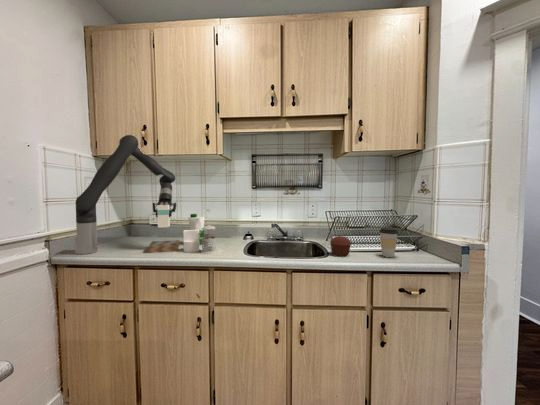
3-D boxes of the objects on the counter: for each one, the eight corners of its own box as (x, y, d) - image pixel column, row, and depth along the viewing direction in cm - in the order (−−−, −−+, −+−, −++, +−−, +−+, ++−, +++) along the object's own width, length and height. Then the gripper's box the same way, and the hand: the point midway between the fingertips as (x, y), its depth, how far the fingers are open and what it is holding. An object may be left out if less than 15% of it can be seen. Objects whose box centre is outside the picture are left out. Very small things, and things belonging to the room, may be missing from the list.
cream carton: (157, 227, 142) (157, 204, 141) (159, 226, 148) (158, 203, 147) (168, 227, 144) (168, 203, 143) (169, 225, 150) (169, 203, 149)
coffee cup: (383, 253, 138) (384, 227, 137) (400, 256, 130) (401, 229, 130) (375, 255, 132) (375, 228, 131) (392, 259, 125) (393, 230, 124)
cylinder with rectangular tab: (200, 248, 149) (200, 229, 148) (198, 251, 140) (198, 231, 139) (185, 248, 147) (185, 229, 147) (182, 252, 138) (181, 231, 138)
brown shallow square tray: (147, 253, 137) (147, 246, 136) (152, 246, 152) (152, 241, 152) (177, 251, 141) (177, 244, 141) (179, 245, 156) (179, 239, 156)
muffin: (326, 255, 133) (327, 237, 133) (333, 251, 142) (333, 234, 142) (348, 258, 127) (349, 239, 126) (353, 253, 136) (353, 236, 136)
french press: (212, 254, 134) (211, 209, 133) (194, 252, 137) (193, 209, 136) (220, 250, 143) (220, 208, 142) (203, 248, 147) (203, 208, 146)
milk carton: (194, 242, 166) (193, 213, 165) (206, 242, 164) (206, 213, 163) (187, 245, 157) (186, 214, 156) (200, 245, 155) (199, 215, 155)
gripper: (152, 192, 150) (149, 212, 139) (177, 192, 154) (175, 212, 143) (154, 200, 155) (151, 220, 145) (177, 200, 160) (176, 220, 149)
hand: (163, 216), depth 144 cm, fingers closed on cream carton, 6 cm apart
